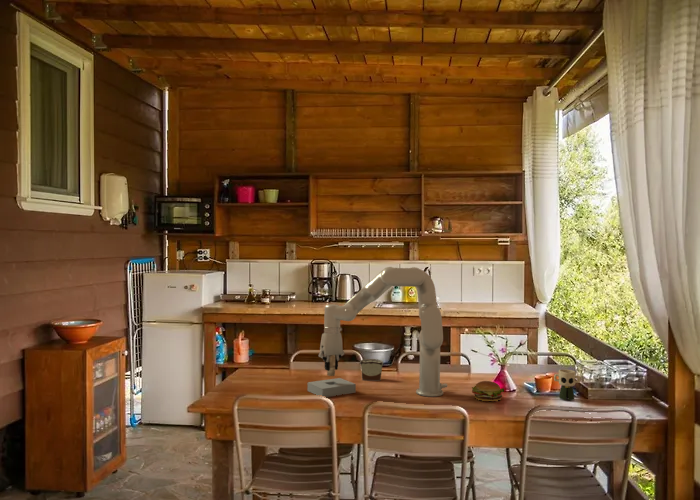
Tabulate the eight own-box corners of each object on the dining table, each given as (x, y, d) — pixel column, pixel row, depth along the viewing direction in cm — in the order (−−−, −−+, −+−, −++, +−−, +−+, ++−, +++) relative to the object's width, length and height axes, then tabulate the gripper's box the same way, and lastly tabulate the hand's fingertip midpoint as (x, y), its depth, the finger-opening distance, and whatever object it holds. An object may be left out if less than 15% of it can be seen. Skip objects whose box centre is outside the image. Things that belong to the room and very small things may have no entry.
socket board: (339, 386, 269) (339, 377, 269) (355, 392, 257) (355, 383, 257) (307, 390, 259) (307, 382, 259) (322, 397, 248) (322, 388, 248)
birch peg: (332, 373, 261) (332, 352, 261) (336, 375, 258) (336, 354, 258) (325, 374, 259) (326, 353, 259) (329, 376, 256) (330, 354, 256)
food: (465, 399, 248) (465, 381, 248) (481, 393, 258) (481, 376, 258) (493, 405, 238) (493, 387, 238) (508, 399, 249) (508, 381, 249)
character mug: (554, 400, 248) (554, 371, 248) (553, 396, 254) (553, 368, 254) (580, 402, 244) (580, 373, 244) (578, 398, 251) (579, 370, 251)
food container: (383, 378, 287) (384, 359, 287) (383, 380, 281) (383, 361, 281) (360, 377, 288) (360, 358, 288) (359, 380, 282) (359, 360, 282)
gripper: (342, 328, 266) (341, 366, 266) (312, 330, 257) (311, 369, 257) (351, 330, 260) (350, 369, 260) (320, 332, 251) (319, 373, 251)
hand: (331, 369), depth 258 cm, fingers closed on birch peg, 3 cm apart
